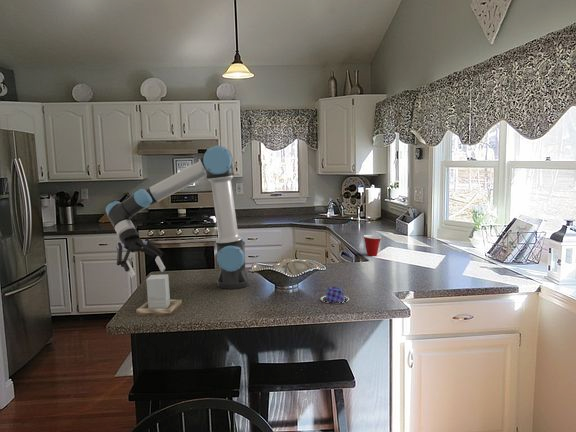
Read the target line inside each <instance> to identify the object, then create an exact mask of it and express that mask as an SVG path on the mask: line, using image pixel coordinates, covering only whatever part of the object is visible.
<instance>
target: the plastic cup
mask: <svg viewBox="0 0 576 432" xmlns="http://www.w3.org/2000/svg"><path fill="white" fill-rule="evenodd" d="M363 238H364V243H365V244H364V245H365V250H366V255H367V256H368V257H377V256H378V252H379V249H380V242H381V240H382V236H380V235H375V234H363Z"/></svg>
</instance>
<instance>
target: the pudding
mask: <svg viewBox="0 0 576 432" xmlns="http://www.w3.org/2000/svg"><path fill="white" fill-rule="evenodd" d="M324 297H326V301H327V302H325V301H323V298H324ZM344 297H346V298H348V300H347V301H346V302H349V301H350V298H349V297H348V296H346V295H344V292H343V288H341V287H339V286H330V287H328V288H327V290H326V295H323V296H322V297H320V300H321V301H322V302H324V303H329V302H333V303H334V302H339V303H340V301H341V302H342V301H343V302H342V303H341V304H343V303H344V301H345V298H344ZM328 301H329V302H328ZM346 302H345V303H346ZM329 304H330V303H329Z"/></svg>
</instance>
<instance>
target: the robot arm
mask: <svg viewBox="0 0 576 432" xmlns="http://www.w3.org/2000/svg"><path fill="white" fill-rule="evenodd" d="M233 162H234V161H233V155H232V153H231V151H230V150H229V149H228V148H226V147H225V146H221V145H214V146H211V147H210V148H208V149H206V151H205V153H204V156H202V157H200V158H198V162H197V161H196V163H193V164H192V165H189V166H187V167H186V168H184V169H182V170H180V171H178V172H176V173H174V174H172V175H171V176H169V177H167V178H165V179H162V180H160V181H159V182H158V183H155V184H154V185H152V186H150V187H148V188H146V189H144V188H140V189H138V190H137V191H135V192H134V193H132V194H131V195H130V196H129V197H127V198H125V200H123V201H122V202H120V201H118V200H117V201H113V202H110V203H109V204H107V206H106V207H105V213H106V214H107V215H106V216H107V218H108V220H109V221H110V223H111V225H112V227H113V228H114V230H115V232H116V235H117V236H118V239H119V241H120V242H118V243H117V245H116V247H115V248H116V250H117V253H116V254H117V255H116V265H117V266H120V267H121V268H123V269H124V271H125V272H127V273H128V275H129V277H130V279H131V280H132V279H133V280H134V278H135V277H136V273H135V271H134V269H133V267H132V265H131V262H129V261H128V260H129V256H130V253H132V254H133V253H135V252H137V253H138V252H140V253H144V254H147V255H148V256H150V257H152V258H154V261H155V263H156V266H158V268H159V271H160V272H161V273H163V272H165V270H166V266H165V265H164V260H163V258H162V256H163V255H164V252H163V251H162V250H161V249H160V248H158V247H157V246H156V245H155V244H154V243H152V242H151V241H150V240H149V238H145V239H144V240H142V239H141V237H140V235H139V232H138V230H137V229H136V227H135V225H134V223H133V222H132V218H133V217H134V216H135V215H137V214H139V212H141V211H143V210H145V209H148V208H150V207H152V206H153V205H155V204H157V203H158V202H160V201H162V200H164V199H166V198H168V197H170V196H171V195H173V194H175V193H178V192H179V191H181V190H183V189H186V188H187V187H190V186H191V185H193V184H195V183H197V182H198V181H201V180H202V179H204V178H206V179H207V181H209V182H210V183H211V184H210V185H211V189H212V191H211V192H212V198H213V204H214V213H215V220H216V227H217V235H218V238H217V239H216V240H215V247H216V262H217V264H218V266H219V267H220V270H219V273H218V277H217V280H216V281H217V282H216V283H217V285H216V287H219V288H220V289H228V290H231V289H234V290H235V289H241V288H246V287H248V286H249V285H250V278H249V275H248V272H247V269H246V250H245V248H246V247H245V244H246V241H245V237H244V236H240V234H239V230H238V229H239V228H238V224H237V215H236V208H235V200H234V193H233V186H232V185H233V184H232V179H233V178H234V177H235V174H234V173H235V172H234V166H233ZM123 248H124V249H126V252H125V255H124V257H123ZM122 258H123V259H122Z"/></svg>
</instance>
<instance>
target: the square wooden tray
mask: <svg viewBox="0 0 576 432" xmlns="http://www.w3.org/2000/svg"><path fill="white" fill-rule="evenodd" d="M182 301H183V299H170V305H169V307H168V308H167V309H148V300H147V301H146V302H145V303H143V304H142V305H140V306H139V307H138V308H136V310H135V311H136V312H135V316H172V315H173V314H174V313H175V312H176V311H178V310H179V308H181V307H182V306H183V305H184V303H183V302H182Z"/></svg>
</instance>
